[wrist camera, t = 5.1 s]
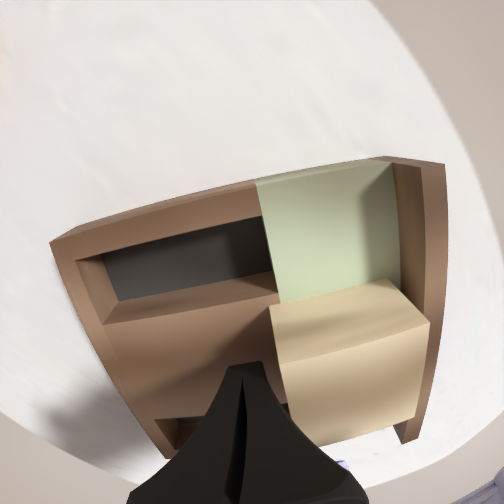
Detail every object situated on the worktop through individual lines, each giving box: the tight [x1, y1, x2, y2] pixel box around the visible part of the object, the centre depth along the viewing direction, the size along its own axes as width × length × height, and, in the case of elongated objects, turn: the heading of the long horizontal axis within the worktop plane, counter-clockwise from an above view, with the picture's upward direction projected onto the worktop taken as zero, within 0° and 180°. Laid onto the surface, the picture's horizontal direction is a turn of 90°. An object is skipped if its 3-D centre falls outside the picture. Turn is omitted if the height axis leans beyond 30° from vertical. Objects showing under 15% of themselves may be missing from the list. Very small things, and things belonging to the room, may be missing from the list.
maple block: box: [269, 278, 430, 447], centre depth 11 cm, size 5×5×4 cm
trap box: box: [49, 156, 448, 459], centre depth 13 cm, size 14×14×4 cm
